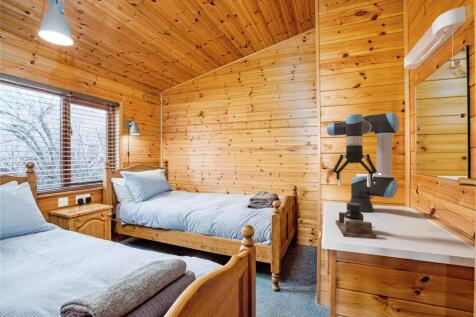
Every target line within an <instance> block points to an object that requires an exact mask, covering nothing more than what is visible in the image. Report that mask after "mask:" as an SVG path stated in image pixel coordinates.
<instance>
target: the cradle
mask: <svg viewBox="0 0 476 317" xmlns="http://www.w3.org/2000/svg"><path fill="white" fill-rule="evenodd" d="M346 212H347V211H346ZM346 212H345V211H344V212H343V211H340V212H339V211H338V220H337V219H335V224H336V226H337V228H338V229H339V231H340V233H341V234H342V236H343V237H344V238H345V237H346V238H359V239H373V240H374V239H377V235H376V234H375V232H373V230H372V229H373V228H372V227H373V223H372V222H371V221H364V222H360V221H345V225H344V214H345V213H346Z"/></svg>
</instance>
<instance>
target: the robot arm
mask: <svg viewBox="0 0 476 317" xmlns="http://www.w3.org/2000/svg"><path fill="white" fill-rule="evenodd" d="M345 119H346V120H345V121H339V122H329V123H328V124H327V127H326V133H327V135H328V136H331V137H332V136H333V137H337V136H346V137H345V144H346V147H345V154H339V155H338V156H339V157H338V160H337V162H336V164H335V165H334V167H333V169H332V172H333V173H335V174H336V180H338V187H342V173H341V172H342V171H343V170H344V169H345V168H346V167H348V166H347V165H349V164H360V165H361V166H362V167H363V168H364V169H365V171H366V172H367V173H366V175H360V176H353V177H351V182H350V194H351V195H350V196H351V197H350V200H349V203H350V202H352V203H360V204H361V213H370V212H371V213H372V212H373V211H374V207H373V204H372V200H371V196H372V197H380V198H385V199H391V198H392V199H393V198H395V195H396V193H397V190H398V185H399V184H398V182H399V181H398V180H397V179H395V176H394V175H393V174H392V171H393V169H392V167H393V137H394V136H395V135H396V132H398V131H399V130H400V124H399V123H400V122H399V118H398V116H397V114H396V113H395V112H386V113H378V114H377V113H376V114H369V115H363V114H361V113H353V114H347V115H346V118H345ZM369 133H374V134H373V135H374V136H375V137H376V160H375V163H376V164H375V165H376V166H375V165H374V163H373V161H372V160H371V156H370V154H369V153H367V154H363V148H364V147H363V135H367V134H369ZM363 158H364V159H366V162H367V164H368V165H366V163H365V162H364V161H363ZM344 159H346V160H345V161H344V163H343V164H342V165H341V163H342V162H343V160H344ZM340 165H341V166H340Z"/></svg>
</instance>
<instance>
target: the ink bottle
mask: <svg viewBox="0 0 476 317" xmlns="http://www.w3.org/2000/svg"><path fill="white" fill-rule="evenodd" d="M345 221H360V222H365V221H364V214H363V212H361V204H360V203H352V202H350V201H349V202H346V213H345V214H344V225H345Z"/></svg>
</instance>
